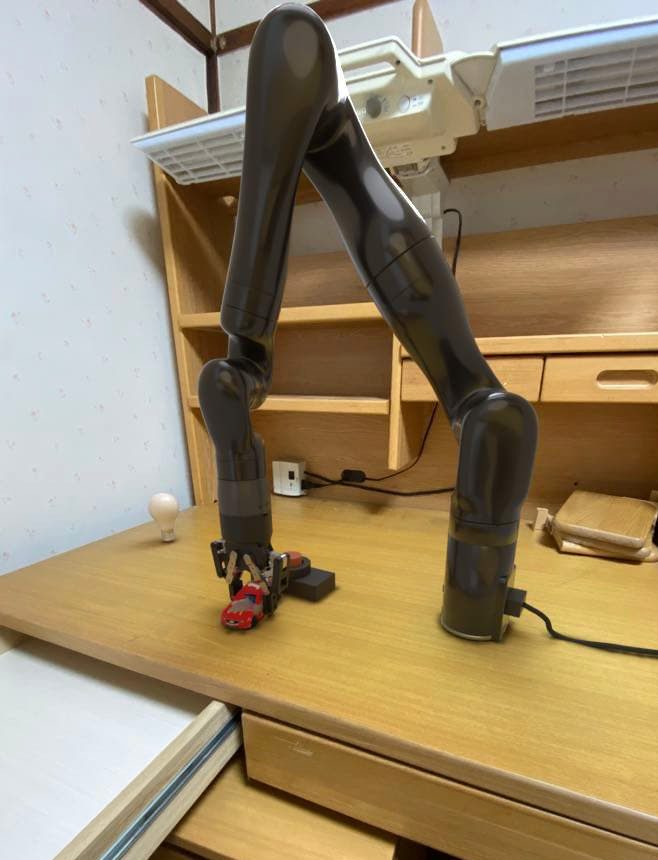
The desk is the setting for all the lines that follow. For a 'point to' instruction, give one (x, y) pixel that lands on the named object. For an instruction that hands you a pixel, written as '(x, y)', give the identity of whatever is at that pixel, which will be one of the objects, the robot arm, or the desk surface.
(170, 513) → the lightbulb
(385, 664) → the desk surface
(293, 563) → the dock button
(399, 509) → the desk surface
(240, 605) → the race car
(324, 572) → the button base
